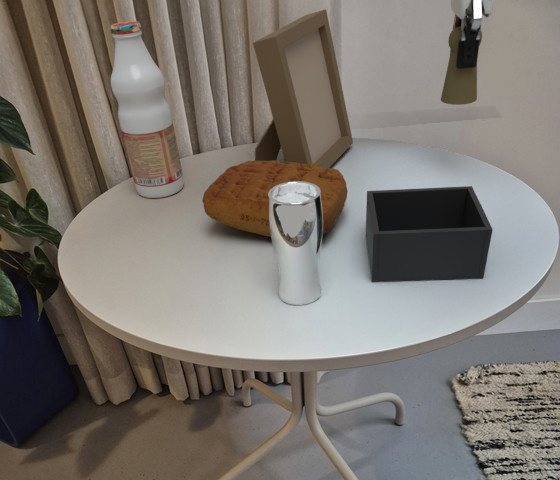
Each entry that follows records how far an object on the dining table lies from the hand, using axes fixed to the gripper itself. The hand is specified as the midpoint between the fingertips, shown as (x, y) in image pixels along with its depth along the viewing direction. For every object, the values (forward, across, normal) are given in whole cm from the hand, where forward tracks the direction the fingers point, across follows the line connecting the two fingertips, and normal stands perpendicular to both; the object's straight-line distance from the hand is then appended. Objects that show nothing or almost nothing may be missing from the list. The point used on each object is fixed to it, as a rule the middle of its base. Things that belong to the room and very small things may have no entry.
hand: (462, 61), depth 96 cm
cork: (+6, 0, 0) cm, 6 cm away
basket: (+19, -30, +9) cm, 37 cm away
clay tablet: (+19, -17, +31) cm, 40 cm away
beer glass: (+19, -39, +27) cm, 51 cm away
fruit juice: (+18, -1, +56) cm, 58 cm away
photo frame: (+18, +8, +29) cm, 35 cm away
